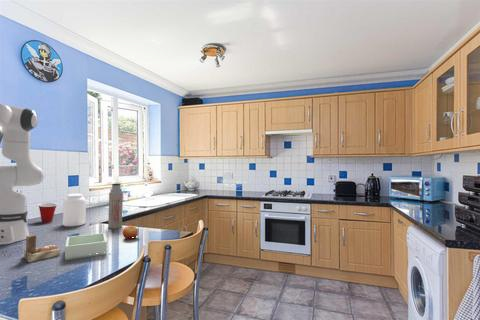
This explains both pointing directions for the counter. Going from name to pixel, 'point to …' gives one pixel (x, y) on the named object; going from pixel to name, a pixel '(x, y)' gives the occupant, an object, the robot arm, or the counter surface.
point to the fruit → (130, 232)
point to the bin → (85, 246)
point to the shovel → (37, 250)
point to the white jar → (74, 210)
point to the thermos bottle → (115, 207)
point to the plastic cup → (47, 211)
